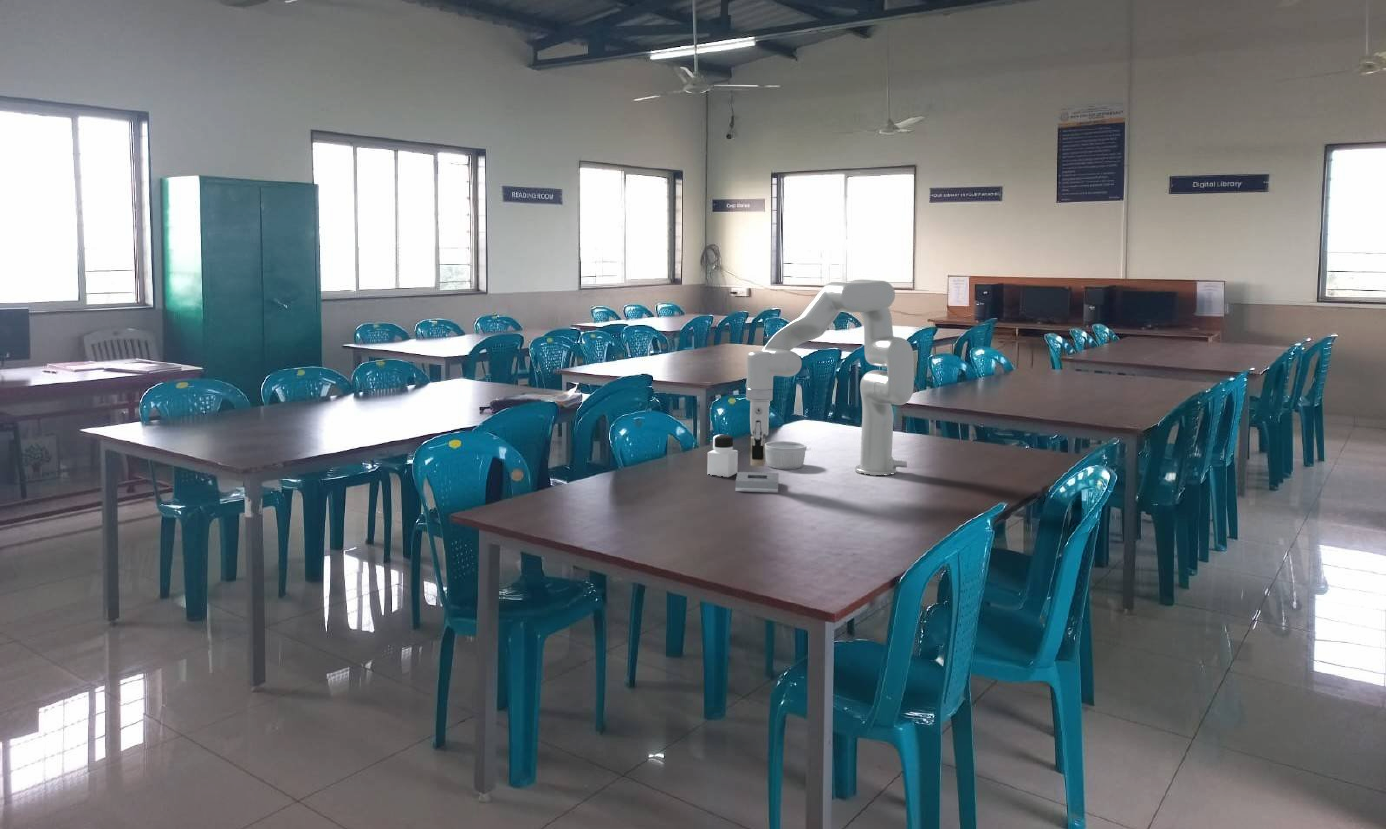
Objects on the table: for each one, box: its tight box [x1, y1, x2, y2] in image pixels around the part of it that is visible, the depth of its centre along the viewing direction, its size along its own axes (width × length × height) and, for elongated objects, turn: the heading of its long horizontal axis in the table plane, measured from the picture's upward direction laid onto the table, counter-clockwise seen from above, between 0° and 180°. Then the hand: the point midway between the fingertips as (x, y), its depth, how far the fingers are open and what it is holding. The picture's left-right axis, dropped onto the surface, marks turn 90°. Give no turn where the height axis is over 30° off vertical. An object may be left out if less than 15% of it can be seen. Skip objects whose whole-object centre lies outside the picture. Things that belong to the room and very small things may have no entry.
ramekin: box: [765, 440, 807, 470], centre depth 326 cm, size 13×13×7 cm
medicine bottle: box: [706, 433, 739, 478], centre depth 313 cm, size 7×7×12 cm
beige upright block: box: [749, 435, 766, 467], centre depth 295 cm, size 4×3×8 cm
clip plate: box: [735, 471, 779, 493], centre depth 297 cm, size 12×12×3 cm
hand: (757, 457), depth 296 cm, fingers closed on beige upright block, 3 cm apart
